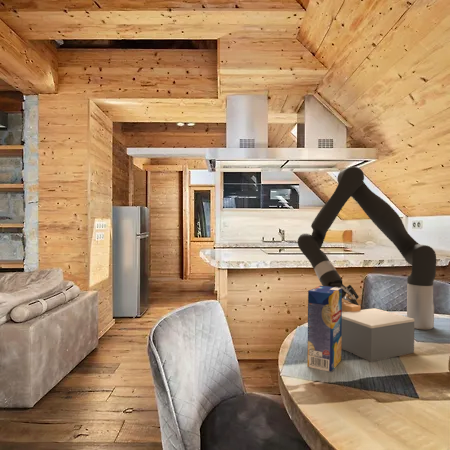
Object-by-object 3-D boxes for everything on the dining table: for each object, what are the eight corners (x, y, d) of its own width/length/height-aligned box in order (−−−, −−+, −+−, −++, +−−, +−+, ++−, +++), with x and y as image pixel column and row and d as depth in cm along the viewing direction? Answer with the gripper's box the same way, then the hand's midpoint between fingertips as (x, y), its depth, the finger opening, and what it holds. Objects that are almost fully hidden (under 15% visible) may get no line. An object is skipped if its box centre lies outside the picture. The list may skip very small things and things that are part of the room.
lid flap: (359, 306, 137) (360, 299, 137) (414, 321, 117) (414, 314, 117) (320, 311, 129) (320, 304, 129) (371, 328, 109) (371, 320, 109)
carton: (374, 338, 131) (374, 310, 131) (414, 352, 117) (414, 321, 117) (333, 345, 123) (334, 316, 123) (371, 361, 109) (371, 328, 109)
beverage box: (341, 359, 110) (342, 287, 110) (330, 372, 101) (331, 293, 101) (319, 355, 114) (320, 285, 114) (307, 366, 105) (308, 291, 104)
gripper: (317, 270, 134) (339, 307, 124) (346, 268, 140) (369, 304, 130) (308, 282, 139) (328, 319, 129) (337, 280, 145) (358, 315, 135)
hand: (349, 311), depth 130 cm, fingers open, 8 cm apart
